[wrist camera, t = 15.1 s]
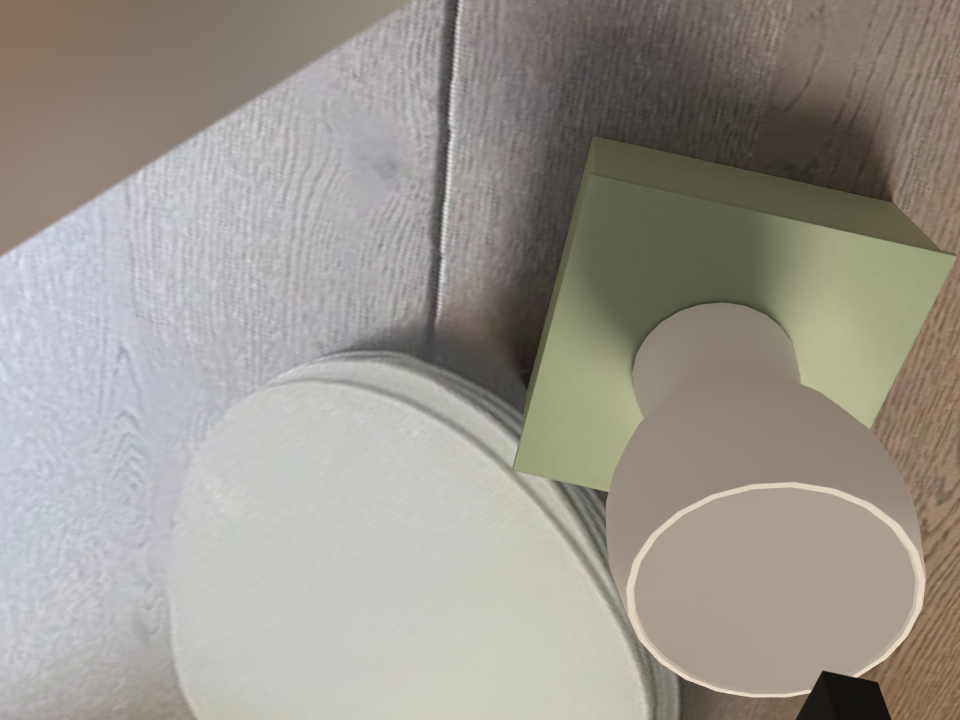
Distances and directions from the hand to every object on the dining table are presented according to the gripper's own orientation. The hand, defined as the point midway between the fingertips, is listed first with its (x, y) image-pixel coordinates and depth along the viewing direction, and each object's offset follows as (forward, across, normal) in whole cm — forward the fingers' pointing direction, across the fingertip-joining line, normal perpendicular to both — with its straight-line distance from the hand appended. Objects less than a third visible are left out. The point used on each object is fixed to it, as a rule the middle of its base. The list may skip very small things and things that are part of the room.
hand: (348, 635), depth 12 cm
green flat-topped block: (+36, +12, -9) cm, 39 cm away
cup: (+28, +12, -9) cm, 32 cm away
